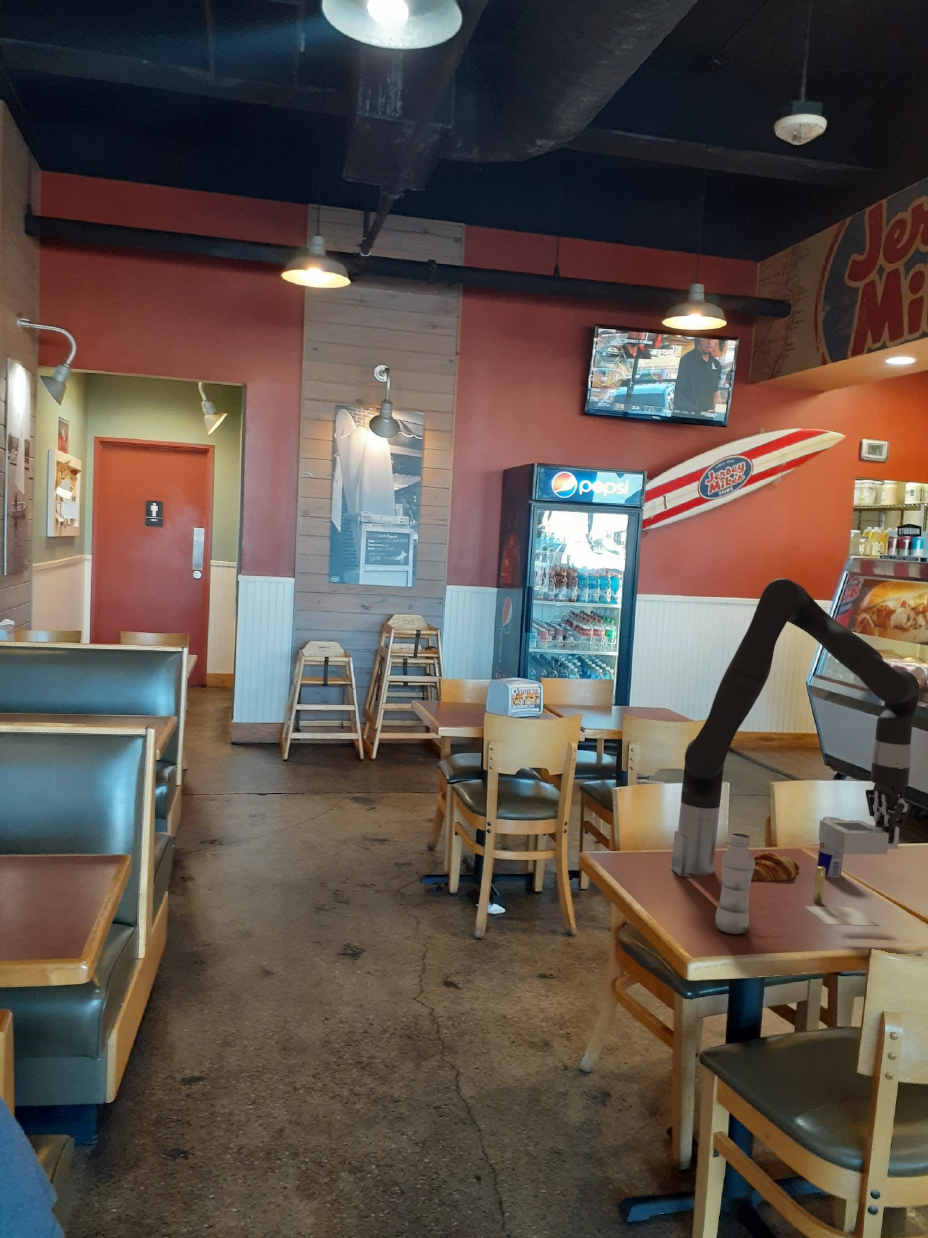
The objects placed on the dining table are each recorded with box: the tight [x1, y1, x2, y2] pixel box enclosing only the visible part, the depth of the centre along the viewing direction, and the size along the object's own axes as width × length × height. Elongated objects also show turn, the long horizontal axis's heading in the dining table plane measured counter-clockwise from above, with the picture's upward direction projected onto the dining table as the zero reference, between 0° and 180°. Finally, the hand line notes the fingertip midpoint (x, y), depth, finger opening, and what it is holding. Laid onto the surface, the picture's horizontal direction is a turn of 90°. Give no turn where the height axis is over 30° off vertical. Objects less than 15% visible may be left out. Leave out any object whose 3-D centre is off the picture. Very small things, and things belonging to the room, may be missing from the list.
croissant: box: [751, 851, 801, 882], centre depth 228 cm, size 21×10×8 cm, turn 128°
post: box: [812, 865, 826, 905], centre depth 208 cm, size 2×2×8 cm
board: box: [802, 905, 880, 927], centre depth 205 cm, size 16×19×1 cm
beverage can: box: [816, 816, 844, 879], centre depth 230 cm, size 6×6×15 cm
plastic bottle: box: [714, 832, 755, 935], centre depth 189 cm, size 6×7×20 cm
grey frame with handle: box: [818, 819, 900, 855], centre depth 202 cm, size 15×10×4 cm, turn 99°
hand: (884, 840), depth 203 cm, fingers closed on grey frame with handle, 2 cm apart
